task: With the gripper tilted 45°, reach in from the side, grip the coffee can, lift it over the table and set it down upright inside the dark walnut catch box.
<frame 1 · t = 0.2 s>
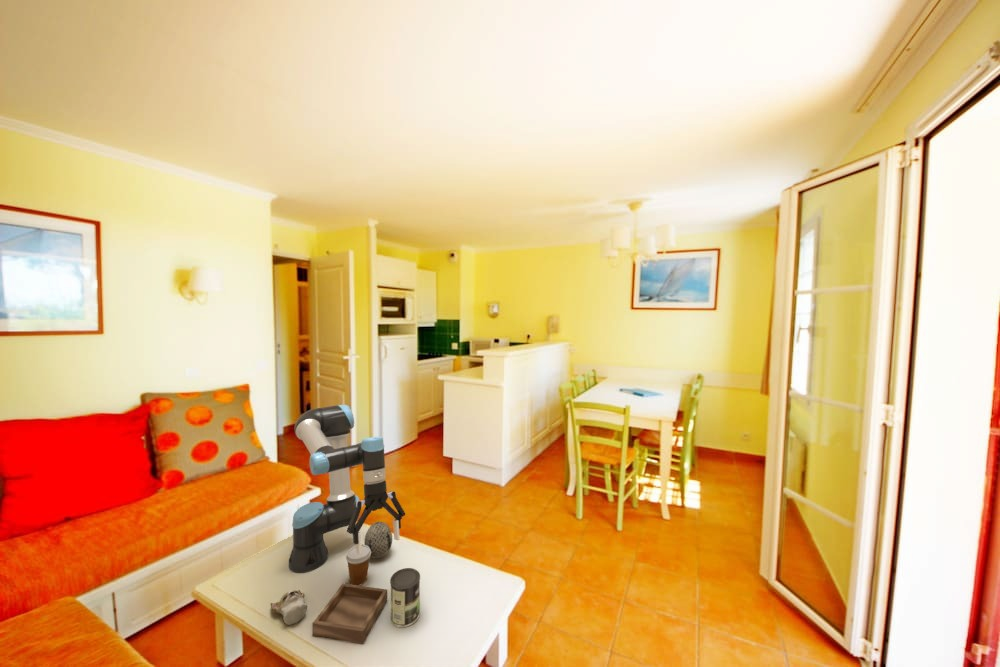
hand: (378, 546, 126), 28 cm above the table, fingers open, 13 cm apart
ceramic sculpture: (291, 614, 130), on the table
decorative egg: (378, 556, 162), on the table
catch box: (352, 617, 129), on the table
coffee can: (405, 615, 131), on the table
disposable coffee cup: (358, 580, 147), on the table
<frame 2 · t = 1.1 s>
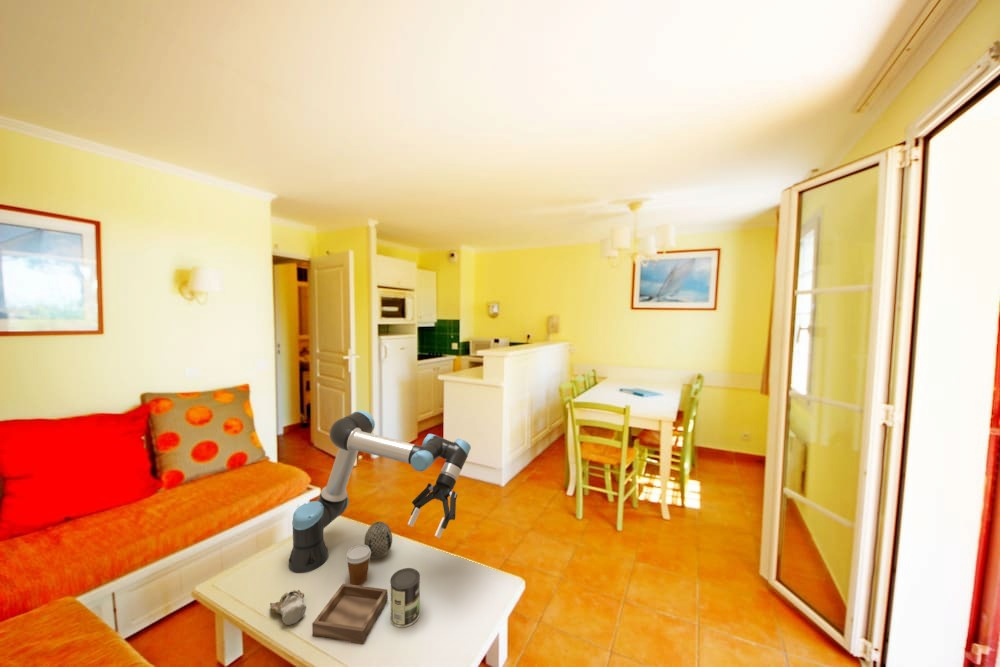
hand: (423, 531, 137), 26 cm above the table, fingers open, 13 cm apart
nothing on the table moved.
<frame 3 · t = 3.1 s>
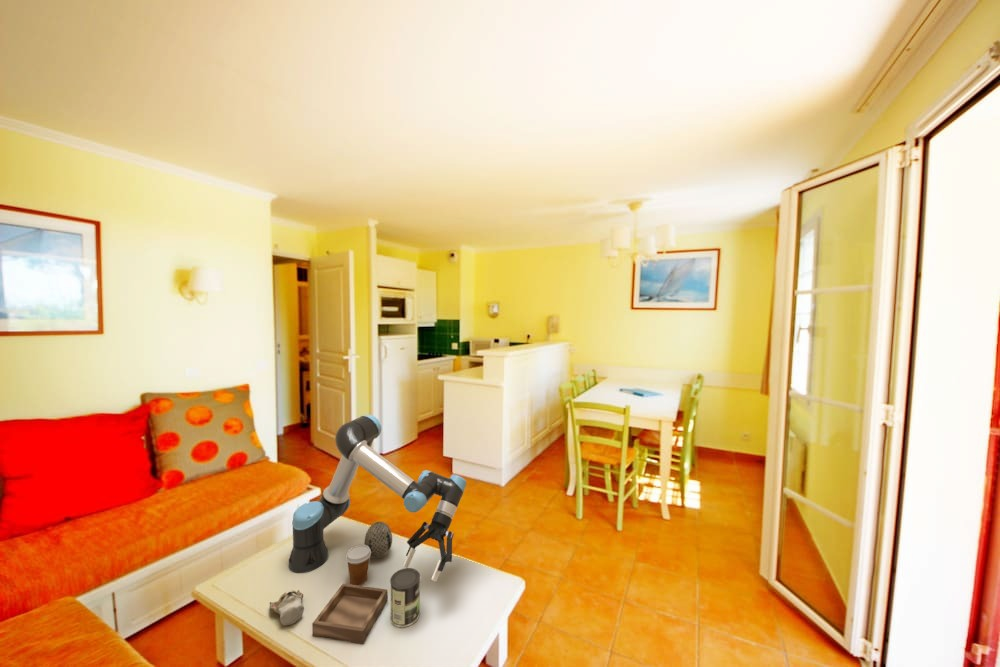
hand: (419, 573, 135), 12 cm above the table, fingers open, 13 cm apart
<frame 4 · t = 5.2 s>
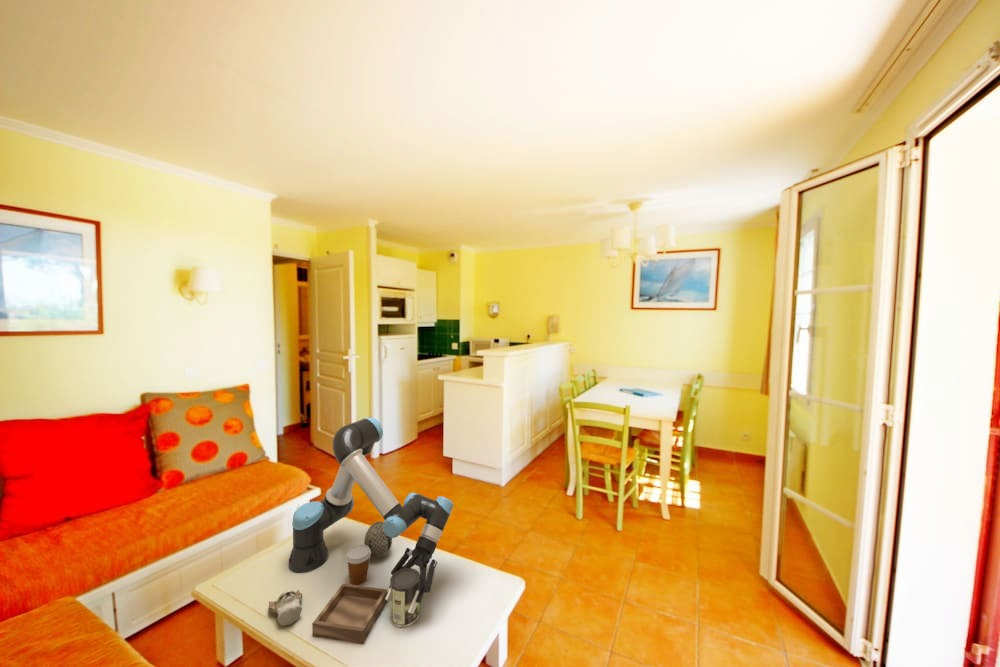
hand: (399, 606, 128), 6 cm above the table, fingers closed on coffee can, 10 cm apart
coffee can: (405, 615, 131), on the table, touching gripper
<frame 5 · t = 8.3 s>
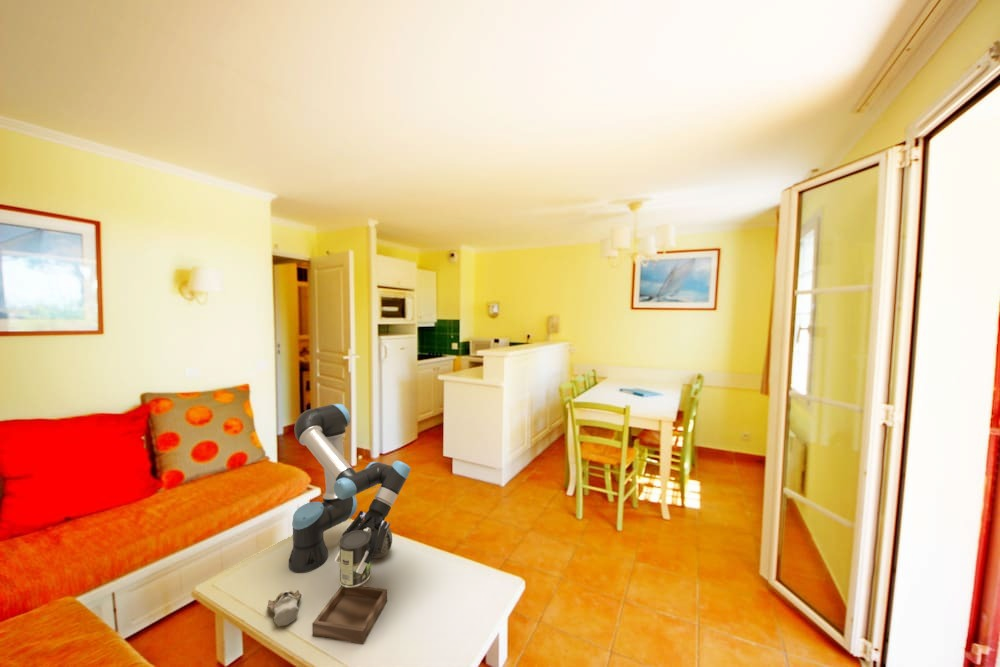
hand: (347, 567, 125), 21 cm above the table, fingers closed on coffee can, 10 cm apart
coffee can: (355, 577, 129), point 15 cm above the table, touching gripper
when the fingers open (8 cm above the table, at t = 11.5 s): coffee can drops 1 cm, resting on catch box.
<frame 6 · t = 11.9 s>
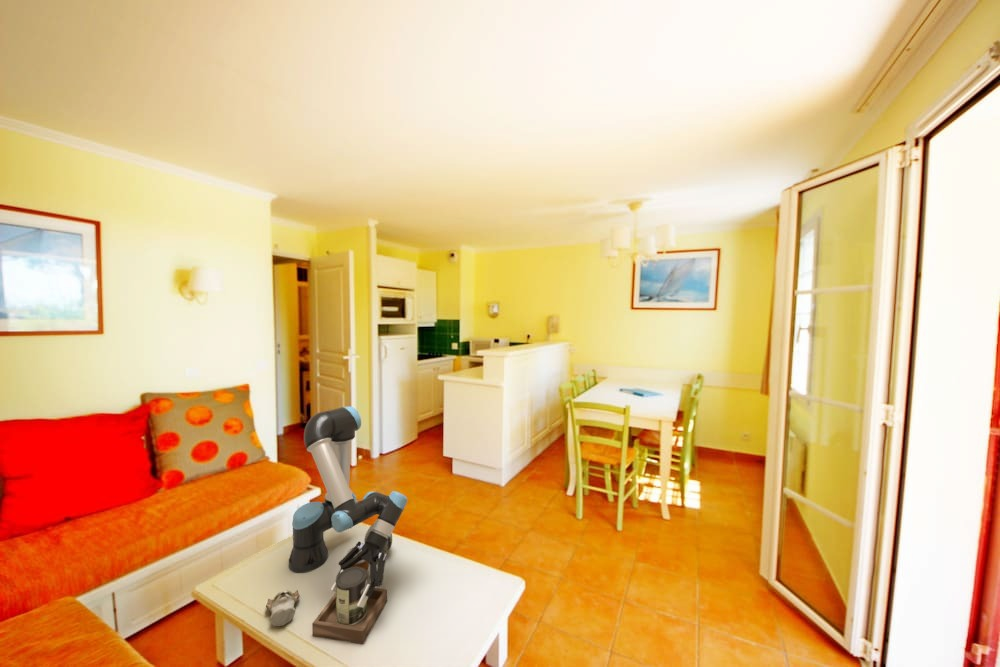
hand: (346, 598, 127), 9 cm above the table, fingers open, 13 cm apart
coffee can: (351, 614, 129), point 1 cm above the table, touching catch box
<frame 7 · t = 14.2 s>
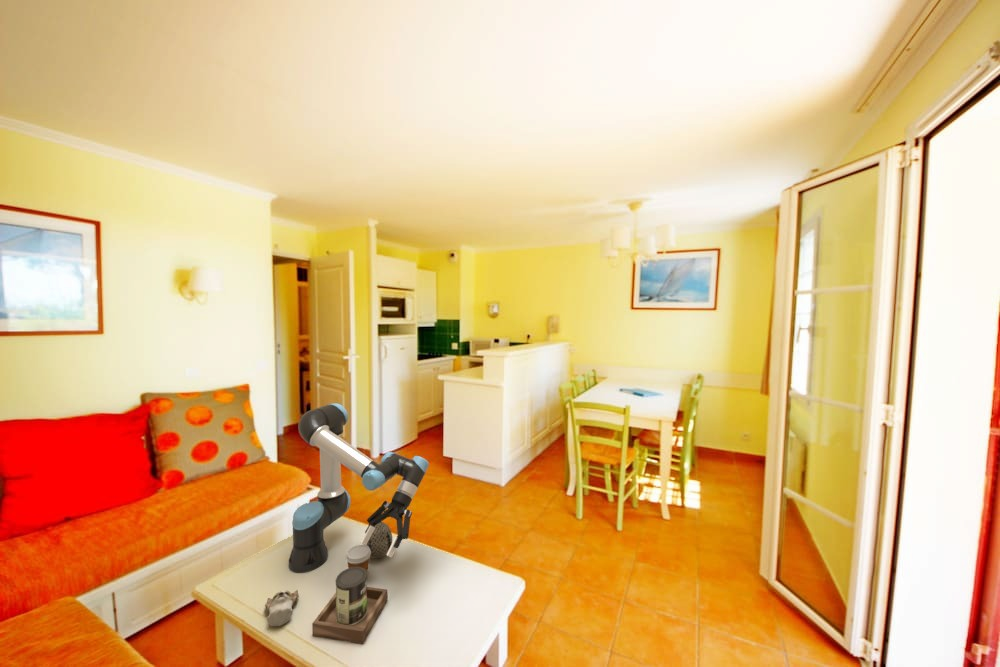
hand: (375, 550, 137), 19 cm above the table, fingers open, 13 cm apart
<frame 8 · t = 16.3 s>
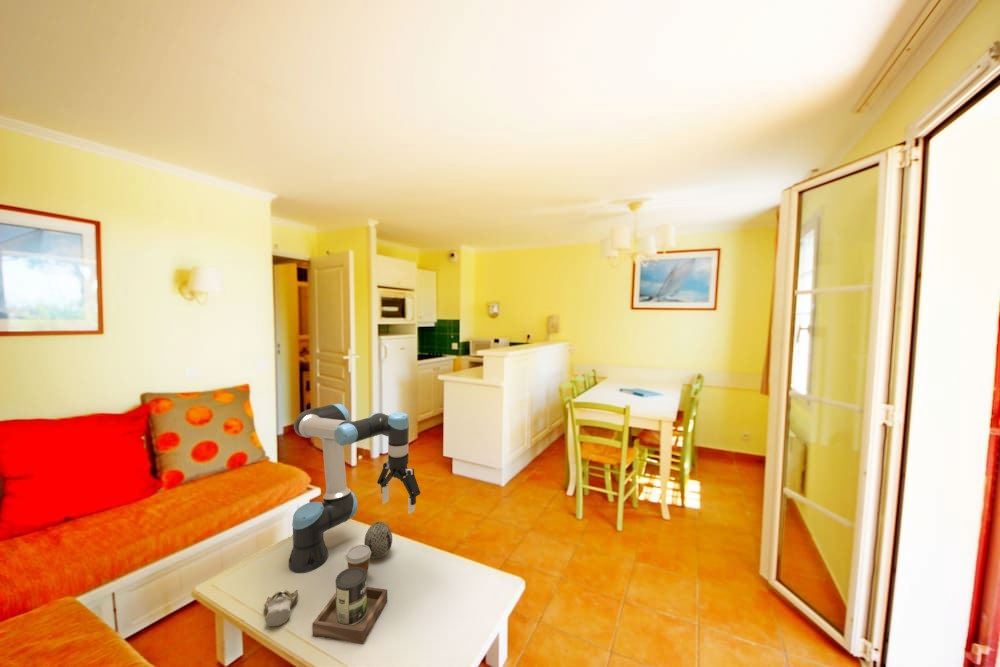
hand: (398, 507, 142), 33 cm above the table, fingers open, 13 cm apart
at the end: coffee can inside the target area on the catch box (0.3 cm from its centre), point 0.8 cm above the catch box's base; coffee can tilted 0°; the gripper is holding nothing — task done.
